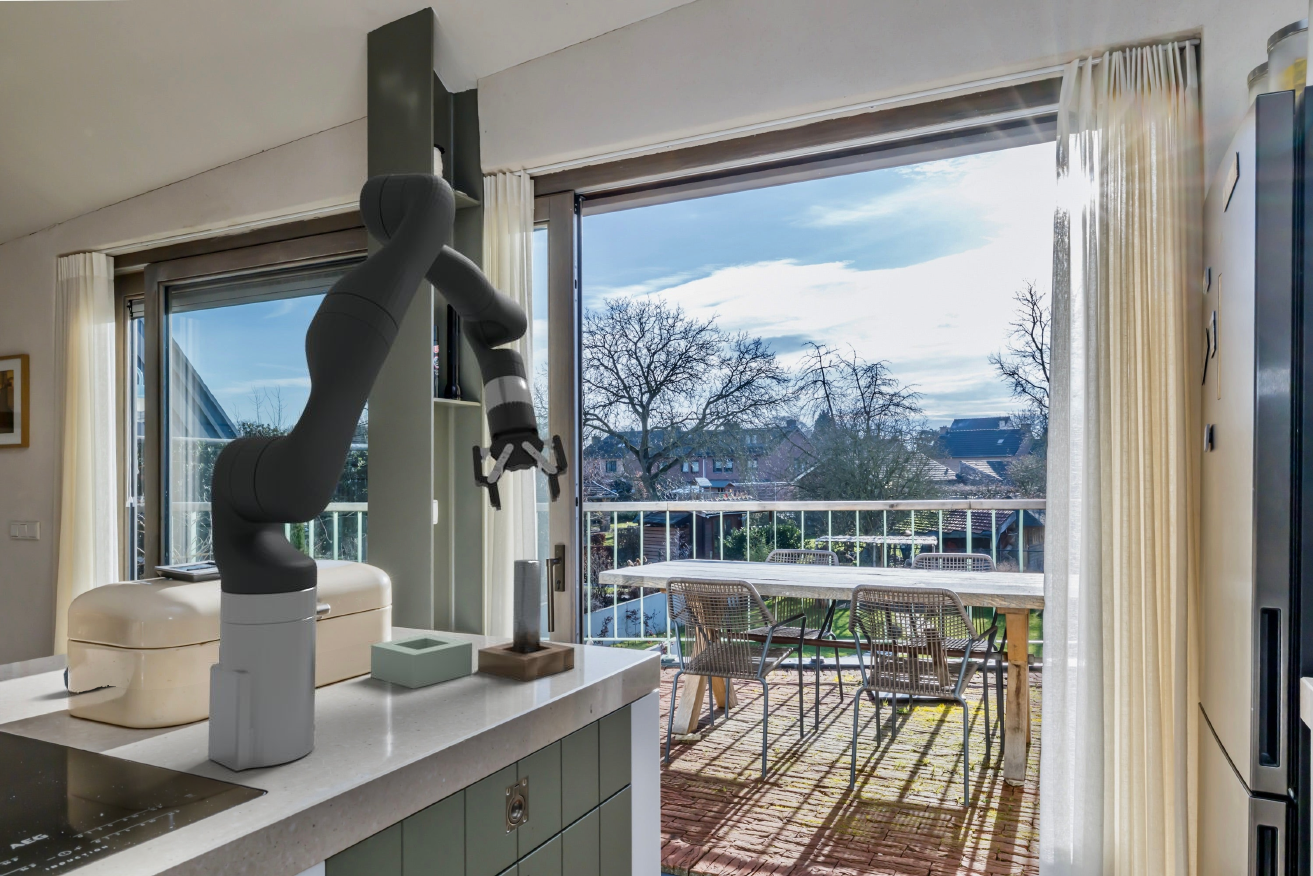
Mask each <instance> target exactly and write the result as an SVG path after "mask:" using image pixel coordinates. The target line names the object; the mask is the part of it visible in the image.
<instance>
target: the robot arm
mask: <svg viewBox="0 0 1313 876" xmlns="http://www.w3.org/2000/svg"><path fill="white" fill-rule="evenodd" d="M359 212H360V217H361V220H362V222H363V225H364V226H365V228H366V230H367V232H368V233H369V235H371V236H372V238H373V239H374V240H375V241H377V242H378V243H379V244H380V245H381V246H382V247H381V249H379V250H377V251H376V252H375V253H374V254H372V255H371V256H369V257H368V258H367V259H365V260H364V261H362V262H361V263H360V264H358V265H356V266H355V267H353V268H352V269H351V270H350V271H348V272H347V273H345V274H344V275H343V276H342V277H341V278H340V279H338V280H337V281H336V282H335V283H334V284H333V285H332V286H331V287H330V289H329V290H328V291H327V292H326V294H325V296H324V297H323V299H322V301H321V303H320V305H319V307H318V308H317V310H316V313H315V314H314V316H313V317H312V319H311V322H310V324H309V326H308V328H307V331H306V334H305V341H304V342H305V343H304V349H305V350H304V351H305V358H306V363H307V368H308V374H309V377H310V378H309V379H310V383H311V384H310V392H309V393H310V394H309V396H308V399H307V403H306V405H305V407H304V408H303V410H302V413H301V414H300V417H299V418H298V421H297V423H296V424H295V426H294V427H293V429H292V430H291V431H290V432H289V433H288V434H287V435H255V436H254V435H250V436H242V437H238V438H235V439H233V440H231V441H229V442H228V443H227V444H225V446H224V447H223V448H222V449H221V450H220V452H219V454H218V456H217V458H216V460H215V463H214V466H213V471H212V475H211V483H210V484H211V485H210V487H211V488H210V506H211V507H210V510H211V533H212V534H211V537H212V555H213V561H214V563H215V567H216V569H217V571H218V574H219V577H220V608H219V609H220V610H219V611H220V612H219V613H220V615H219V620H220V646H219V662H216V663H214V664H211V666H210V668H209V702H208V703H209V706H208V707H209V708H208V709H209V710H208V746H207V747H208V749H207V751H208V753H207V757H208V759H210V760H212V761H214V762H216V763H217V764H219V765H220V764H221V765H223V766H225V767H227V768H229V769H232V770H233V771H235V772H236V771H237V772H238V771H242V770H246V769H250V768H251V769H252V768H263V767H271V766H276V765H280V764H284V763H288V762H292V761H295V760H297V759H300V758H302V757H304V756H306V755H308V754H309V753H311V752H312V751H313V749H314V748H315V744H314V743H315V731H316V725H315V717H316V716H315V713H316V712H315V710H316V709H315V707H316V706H315V705H316V668H317V667H316V665H317V664H316V662H317V661H316V659H317V658H316V654H317V653H316V652H317V651H316V650H317V612H318V611H317V610H318V609H317V607H318V606H317V604H318V603H317V602H318V565H317V562H316V561H315V559H314V558H313V557H311V556H309V555H307V554H306V553H304V552H302V551H301V550H299V549H298V548H297V547H295V546H294V545H293V544H292V543H291V542H290V541H289V539H288V538H287V536H286V533H285V527H284V524H293V525H294V524H295V525H296V524H305V523H310V522H311V521H314V520H316V518H318V517H319V516H321V515H322V514H323V513H324V511H325V510H326V509H327V507H329V505H330V503H331V501H332V499H333V497H334V495H335V493H336V490H337V488H338V485H339V482H340V480H341V477H342V473H343V472H344V471H343V470H344V468H345V465H346V462H347V459H348V455H349V452H350V449H351V446H352V443H353V439H354V437H355V434H356V430H357V427H358V424H359V422H360V419H361V416H362V414H363V411H364V408H365V406H366V405H367V402H368V399H369V397H370V395H371V392H372V389H373V387H374V385H375V382H376V380H377V378H378V376H379V374H380V372H381V369H382V367H383V366H384V363H385V362H386V361H387V360H386V359H387V358H388V356H389V354H390V351H391V349H392V347H393V345H394V343H395V341H396V338H397V336H398V334H399V331H400V328H401V326H402V324H403V321H404V319H405V316H406V314H407V312H408V311H409V307H410V305H411V303H412V301H413V300H414V298H415V297H416V296H415V295H417V294H416V293H417V291H418V289H419V287H420V286H421V283H422V281H423V280H424V279H425V280H426V281H427V282H429V284H431V285H432V287H434V288H435V290H437V291H438V292H439V293H440V294H441V295H442V297H443V298H444V299H445V300H446V302H448V304H449V305H450V306H451V307H452V308H453V309H454V311H455V312H456V313H457V314H458V316H459V317H461V318H462V319H463V320H462V323H461V328H462V332H463V334H464V337H465V339H466V341H467V343H468V344H469V346H470V348H471V349H472V351H473V354H474V356H475V358H476V361H477V363H478V366H479V370H480V373H481V379H482V385H483V394H484V398H483V400H484V407H485V415H486V419H487V425H488V430H489V431H488V432H489V436H490V446H489V447H488V446H487V447H480V445H473V446H472V449H471V450H472V461H473V473H474V475H473V476H474V485H475V486H476V487H477V488H481V487H485V489H487V490H488V496H489V503H490V506H491V507H492V508H495V509H496V510H495V511H497V512H498V511H501V510H502V503H501V498H500V492H499V486H498V485H499V484H498V483H499V482H500V480H501V479H502V478H503V476H504V474H505V473H506V471H508V472H510V473H513V472H517V471H519V470H522V471H527V470H531V468H534V469H536V470H537V471H538V472H539V473H541V474H543V475H545V477H546V478H548V479H547V483H548V489H549V494H550V499H551V502H552V503H555V502H556V503H557V501H558V498H560V494H561V488H560V482H559V477H560V476H562V475H564V476H565V475H566V474H567V470H568V467H569V466H568V465H569V464H568V459H567V457H566V454H565V450H564V447H563V443H562V439H561V436H560V435H559V434H554V435H553V436H552V437H551V438H547V439H542V438H541V436H540V433H539V428H538V423H537V417H536V413H535V408H534V404H533V403H534V402H533V398H532V397H533V396H532V393H531V390H530V387H529V385H528V384H529V383H528V379H527V375H526V370H525V364H524V360H523V357H522V355H521V354H520V352H519V351H518V350H516V349H513V348H505V347H501V348H497V347H500V346H503V345H507V344H510V343H514V342H515V341H518V340H520V339H522V338H523V337H524V335H525V333H527V328H528V319H527V315H526V313H525V311H524V309H523V308H522V307H521V304H519V303H518V302H517V301H516V300H515V299H514V298H512V297H511V296H509V295H508V294H506V293H504V292H503V291H501V290H500V289H498V288H496V287H495V286H493V285H492V284H491V282H490V281H489V279H488V278H487V277H486V275H485V273H484V272H483V271H482V269H481V268H480V267H479V266H478V265H477V264H475V262H473V261H472V260H471V259H469V258H468V257H466V256H465V255H464V254H462V253H461V252H459V251H457V250H455V249H453V248H452V247H450V246H449V245H446V243H447V241H448V238H449V236H450V234H451V232H452V229H453V227H454V223H455V217H456V198H455V194H454V191H453V188H452V187H451V185H450V183H449V182H448V181H447V180H446V179H444V178H443V177H441V176H439V175H436V174H432V173H423V172H422V173H390V174H389V173H388V174H380V175H375V176H372V177H371V178H369V179H368V180H366V181H365V183H364V184H363V186H362V188H361V191H360V195H359ZM544 448H546V449H548V451H549V453H553V454H554V459H555V462H556V465H555V466H554V465H553V464H552V463H551V462H550V461H548V458H547V457H546V456H545V455H543V454H542V453H543V450H544ZM488 456H490V457H491V458H492V459H493V460H494V461H495V464H494V465H493V468H492V470H491V472H490V474H489V475H488V476H487V475H484V474H483V464H482V463H485V462H486V461H487V457H488Z"/></svg>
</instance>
